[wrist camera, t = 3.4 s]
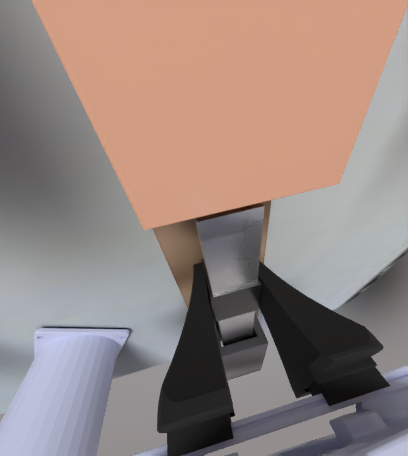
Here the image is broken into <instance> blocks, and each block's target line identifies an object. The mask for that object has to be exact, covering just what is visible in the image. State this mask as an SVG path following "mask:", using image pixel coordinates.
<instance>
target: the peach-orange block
mask: <svg viewBox="0 0 408 456" xmlns="http://www.w3.org/2000/svg"><path fill="white" fill-rule="evenodd" d="M32 2H33V4H34V7H35V9H36V11H37V13H38V15H39V17H40V19H41V21H42V23H43V25H44V27H45V29H46V31H47V33H48V35H49V37H50V39H51V41H52V43H53V45H54V47H55V50H56V52H57V54H58V56H59V58H60V60H61V62H62V64H63V66H64V68H65V70H66V72H67V74H68V76H69V78H70V80H71V82H72V84H73V86H74V88H75V90H76V92H77V95H78V97H79V99H80V101H81V103H82V105H83V107H84V109H85V111H86V113H87V115H88V117H89V119H90V121H91V123H92V125H93V127H94V129H95V131H96V133H97V135H98V138H99V140H100V142H101V144H102V146H103V148H104V150H105V152H106V154H107V156H108V158H109V160H110V162H111V164H112V166H113V168H114V170H115V172H116V174H117V176H118V178H119V180H120V183H121V185H122V187H123V189H124V191H125V193H126V195H127V197H128V199H129V201H130V203H131V205H132V207H133V209H134V211H135V213H136V215H137V217H138V219H139V221H140V223H141V226H142V228H143V230H147V229H151V228H155V227H159V226H164V225H168V224H172V223H176V222H180V221H185V220H189V219H193V218H197V217H201V216H206V215H210V214H214V213H218V212H222V211H227V210H231V209H235V208H239V207H244V206H248V205H252V204H256V203H260V202H265V201H269V200H273V199H277V198H281V197H286V196H290V195H294V194H298V193H303V192H307V191H311V190H315V189H319V188H324V187H328V186H332V185H336V184H339V183H340V181H341V178H342V175H343V173H344V170H345V168H346V165H347V162H348V160H349V157H350V155H351V152H352V149H353V147H354V144H355V141H356V139H357V136H358V134H359V131H360V128H361V126H362V123H363V121H364V118H365V115H366V113H367V110H368V108H369V105H370V102H371V100H372V97H373V94H374V92H375V89H376V87H377V84H378V81H379V79H380V76H381V74H382V71H383V68H384V66H385V63H386V61H387V58H388V55H389V53H390V50H391V47H392V45H393V42H394V40H395V37H396V34H397V32H398V29H399V27H400V24H401V21H402V19H403V16H404V14H405V11H406V8H407V6H408V0H32Z"/></svg>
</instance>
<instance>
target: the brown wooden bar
mask: <svg viewBox="0 0 408 456" xmlns="http://www.w3.org/2000/svg"><path fill="white" fill-rule="evenodd" d="M261 203H262V204H263V205H264V206H265V207H264V218H263V229H262V240H261V250H260V261H261V262H262V263H263V264H264V256H265V247H266V239H267V230H268V222H269V213H270V205H271V200H269V201H265V202H261ZM153 231H154V233H155V235H156V237H157V240H158V242H159V244H160V246H161V249H162V251H163V253H164V255H165V258H166V260H167V262H168V265H169V267H170V269H171V271H172V274H173V276H174V278H175V280H176V283H177V285H178V287H179V289H180V292H181V294H182V296H183V298H184V301H185V303H186V305H187V308H189V303H190V298H191V292H192V284H193V265H194V264H198V263H202V260H201V259H203V254H202V250H201V246H200V241H199V237H198V232H197V228H196V224H195V219H194V218H193V219H189V220H185V221H180V222H176V223H172V224H168V225H164V226H159V227H155V228H153ZM210 299H211V297H210ZM211 306H212V312H213V319H214V325H215V330H216V334H217V339H218V343H219V347H220V352H221V356H222V360H223V365H224V369H225V373H226V377H227V380H230V379H233V378H236V377H240V376H243V375H246V374H249V373H252V372H256V371H259V370H261V368H262V364H263V360H264V356H265V353H266V349H267V345H268V341H267V339H266V337H265V334H264V332H263V330H262V328H261V325H260V323H259V321H258V319H257V315H258V310H256V311H255V315H254V326H253V336H252V338H251V339H248V340H244V341H241V342H237V343H234V344H231V345H227V346H224V347H221V344H220V341H222V338H221V333H220V329H219V325H218V321H217V322H216V318H215V314H214V309H213V305H212V301H211Z"/></svg>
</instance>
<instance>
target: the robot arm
mask: <svg viewBox="0 0 408 456" xmlns="http://www.w3.org/2000/svg"><path fill="white" fill-rule="evenodd" d="M258 280H259V281H260V283H261V291H260V299H259V308H260V310H261V312H262V314H263V316H264V318H265V321H266V323H267V325H268V328H269V330H270V333H271V335H272V337H273V340H274V342H275V345H276V347H277V350H278V352H279V355H280V357H281V360H282V363H283V365H284V368H285V371H286V373H287V376H288V379H289V382H290V384H291V387H292V389H293V391H294V394H295V396H296V398H300V397H303V396H306V395H309V394H312V397H309V398H306V399H303V400H299V401H297V402H294V403H291V404H287V405H284V406H281V407H278V408H275V409H273V410H269V411H266V412H263V413H260V414H257V415H254V416H251V417H248V418H244V419H241V420H238V421H235V422H231V417H233V416H235V414H234V409H233V405H232V404H233V403H232V399H231V395H230V390H229V386H228V382H227V377H226V373H225V369H224V365H223V360H222V356H221V352H220V347H219V343H218V339H217V334H216V330H215V325H214V319H213V312H212V306H211V299H210V293H209V289H208V285H207V281H206V276H205V272H204V268H203V264H202V263H198V264H194V265H193V284H192V292H191V298H190V303H189V308H188V312H187V316H186V320H185V324H184V327H183V330H182V334H181V337H180V340H179V343H178V346H177V348H176V351H175V354H174V357H173V359H172V362H171V365H170V367H169V370H168V372H167V374H166V377H165V379H164V382H163V384H162V388H161V392H160V397H159V404H158V417H157V431H158V432H159V433H167V444H165V445H162V446H159V447H156V448H153V449H150V450H147V451H144V452H141V453H137V454H134V455H131V456H204V455H205V454H208V453H211V452H214V451H217V450H219V449H223V448H226V447H229V446H232V445H234V444H238V443H240V442H244V441H246V440H249V439H252V438H255V437H258V436H261V435H264V434H267V433H270V432H273V431H276V430H279V429H282V428H285V427H288V426H291V425H294V424H297V423H300V422H303V421H306V420H309V419H312V418H315V417H317V416H320V415H323V414H326V413H329V412H333V411H335V410H338V409H341V408H344V407H347V406H350V405H353V404H356V403H357V404H356V412H354V413H350V414H346V415H343V416H340V417H338V418H335V419H333V420H330V425H331V426H332V428H333V430H334V432H335V434H332V435H329V436H326V437H322V438H319V439H316V440H312V441H309V442H306V443H303V444H299V445H296V446H293V447H290V448H287V449H284V450H281V451H278V452H275V453H273V454H270V455H267V456H408V365H407V366H403V367H400V368H397V369H394V370H392V371H388V372H385V373H382V374H380V372H379V371H378V370H377V369H376V367H375V366H376V365H377V364H376V363H375V362H374V360H373V359H372V358H371V356H373V355H375V354H376V353H378V352H379V351H381V350H382V349H383V345H382V344H381V343H380V342H379V341H378V340H377V339H376V338H375V337H374V335H373V334H372V333H371V332H369V330H367V329H366V328H365V327H364V326H362V325H360V324H358V323H356V322H354V321H352V320H350V319H348V318H345V317H343V316H341V315H339V314H338V313H336V312H334V311H332V310H330V309H328V308H326V307H324V306H323V305H321V304H319V303H317V302H316V301H314V300H312V299H311V298H309V297H307V296H306V295H304V294H302V293H301V292H299V291H298V290H296V289H295V288H293V287H292V286H290V285H289V284H288V283H286V282H285V281H284V280H282V279H281V278H280V277H278V276H277V275H276V274H275V273H273V272H272V271H271V270H270V269H269V268H267V267H266V266H265V265H264V264H263V263H262V262H261V261H259V272H258ZM128 336H129V330H127V329H76V328H39V329H37V330H36V331H35V333H34V361H33V362H32V364H31V366H30V368H29V370H28V372H27V374H26V376H25V377H24V379H23V381H22V383H21V385H20V387H19V389H18V391H17V393H16V394H15V396H14V398H13V400H12V402H11V404H10V406H9V408H8V409H7V411H6V413H5V415H4V417H3V419H2V421H1V423H0V456H96V455H97V450H98V445H99V440H100V435H101V430H102V425H103V420H104V416H105V411H106V405H107V401H108V396H109V391H110V385H111V380H112V376H113V371H114V366H115V361H116V358H117V356H118V354H119V352H120V350H121V349H122V347H123V345H124V343H125V341H126V339H127V338H128ZM226 456H238V453H232V454H229V455H226Z"/></svg>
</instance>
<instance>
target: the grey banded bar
mask: <svg viewBox="0 0 408 456" xmlns="http://www.w3.org/2000/svg"><path fill="white" fill-rule="evenodd" d="M264 207H265V206H264V205H263V204H262V203H261V202H260V203H256V204H252V205H248V206H244V207H239V208H235V209H231V210H227V211H222V212H218V213H214V214H210V215H206V216H201V217H197V218H194V219H195V224H196V228H197V232H198V237H199V241H200V246H201V250H202V254H203V259H201V260H202V264H203V268H204V272H205V276H206V281H207V285H208V289H209V293H210V297H211V301H212V305H213V309H214V314H215V318H216V322H217V321H218V325H219V329H220V333H221V338H222V342H223V346H227V345H231V344H234V343H237V342H241V341H244V340H248V339H251V338H252V336H253V326H254V315H255V311H256V310H258V308H259V299H260V291H261V283H260V281H259V280H258V272H259V261H260V250H261V240H262V229H263V218H264Z"/></svg>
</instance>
